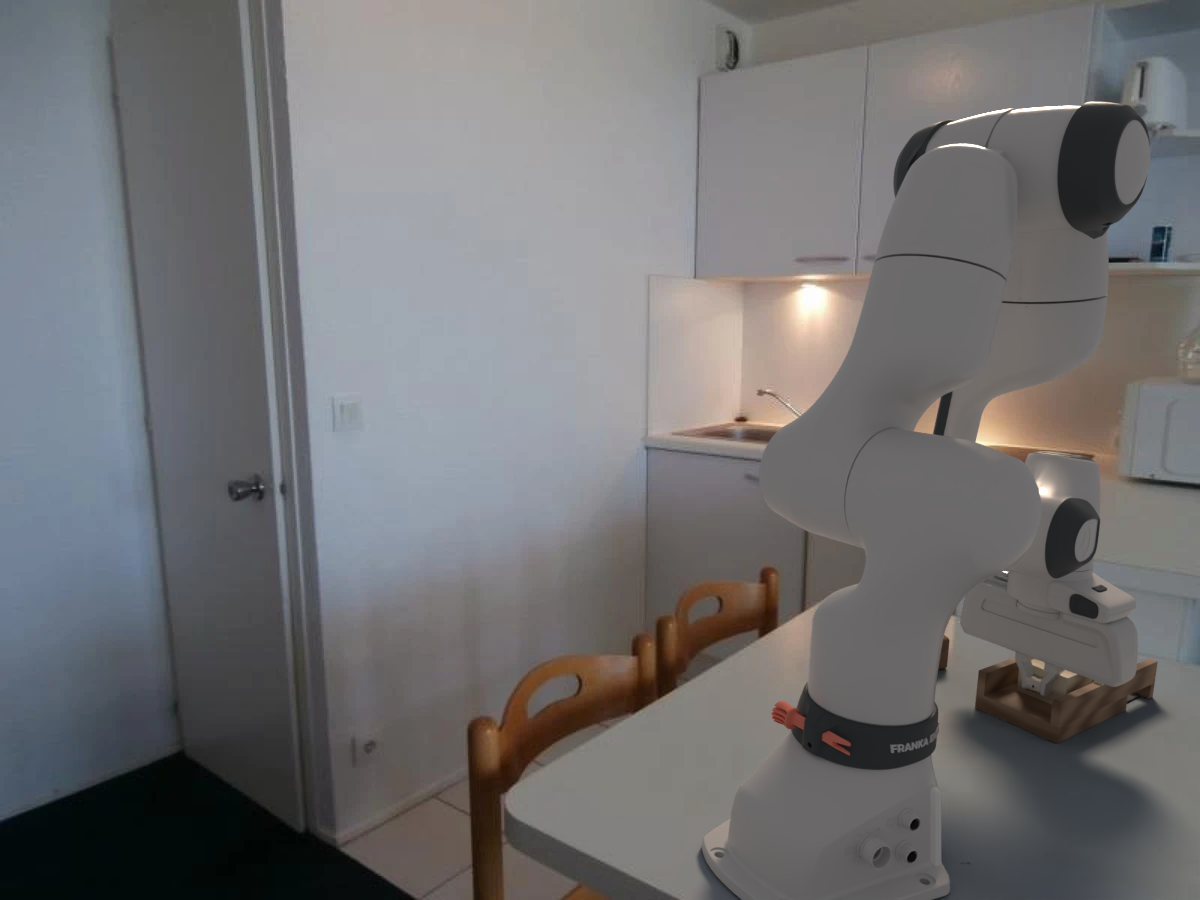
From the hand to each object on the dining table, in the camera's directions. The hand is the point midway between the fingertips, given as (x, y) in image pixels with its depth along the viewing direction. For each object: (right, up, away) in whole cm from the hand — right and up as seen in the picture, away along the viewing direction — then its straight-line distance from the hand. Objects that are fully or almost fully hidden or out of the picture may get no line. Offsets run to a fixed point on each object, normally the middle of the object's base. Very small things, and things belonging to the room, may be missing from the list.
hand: (1036, 691), depth 104 cm
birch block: (+3, -1, +2) cm, 4 cm away
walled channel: (+6, -3, +4) cm, 8 cm away
